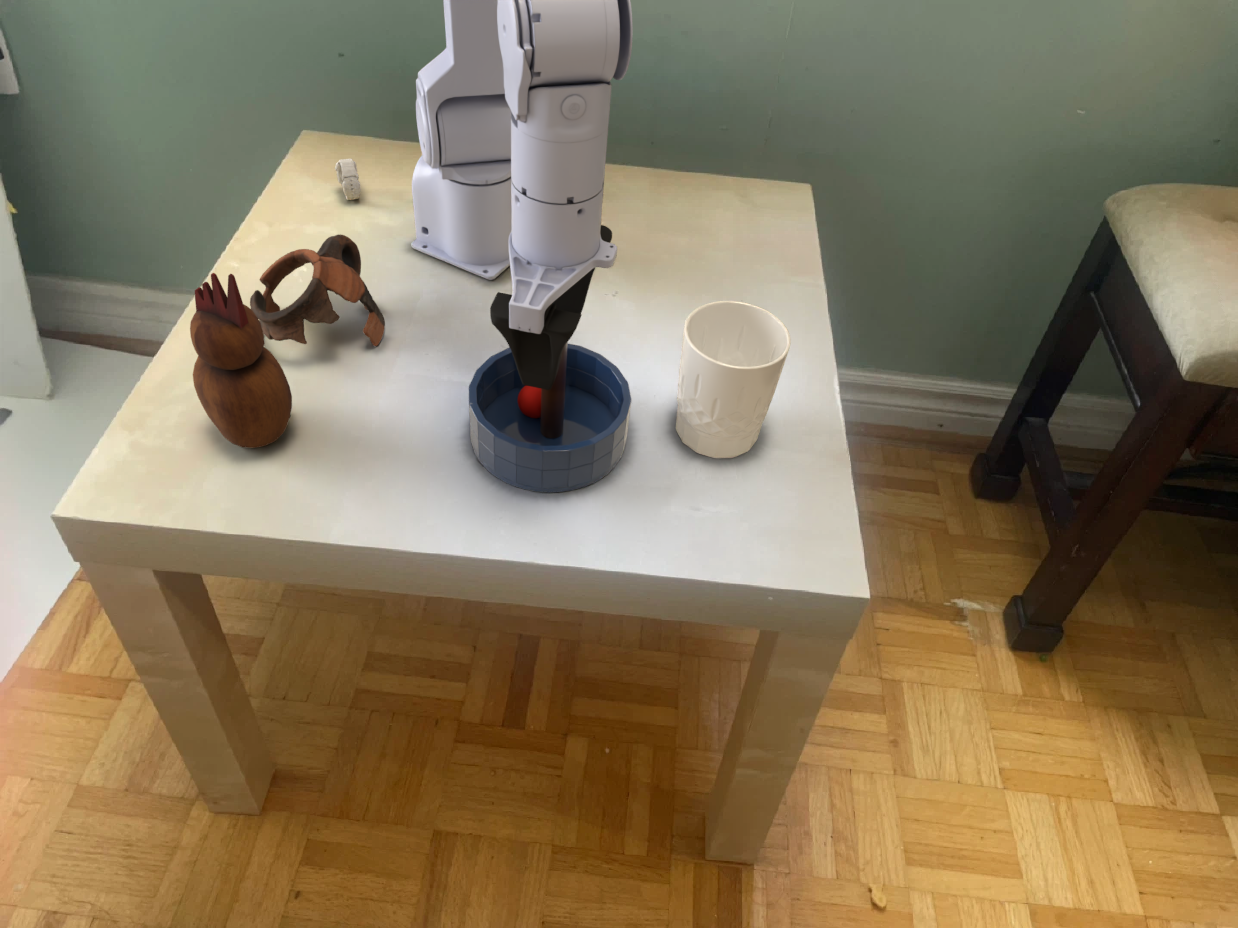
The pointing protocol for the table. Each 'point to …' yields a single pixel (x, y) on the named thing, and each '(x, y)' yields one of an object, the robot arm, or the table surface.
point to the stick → (554, 402)
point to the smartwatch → (348, 178)
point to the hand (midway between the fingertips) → (551, 350)
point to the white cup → (728, 376)
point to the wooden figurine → (237, 369)
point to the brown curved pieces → (316, 291)
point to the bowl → (516, 439)
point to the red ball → (530, 401)
